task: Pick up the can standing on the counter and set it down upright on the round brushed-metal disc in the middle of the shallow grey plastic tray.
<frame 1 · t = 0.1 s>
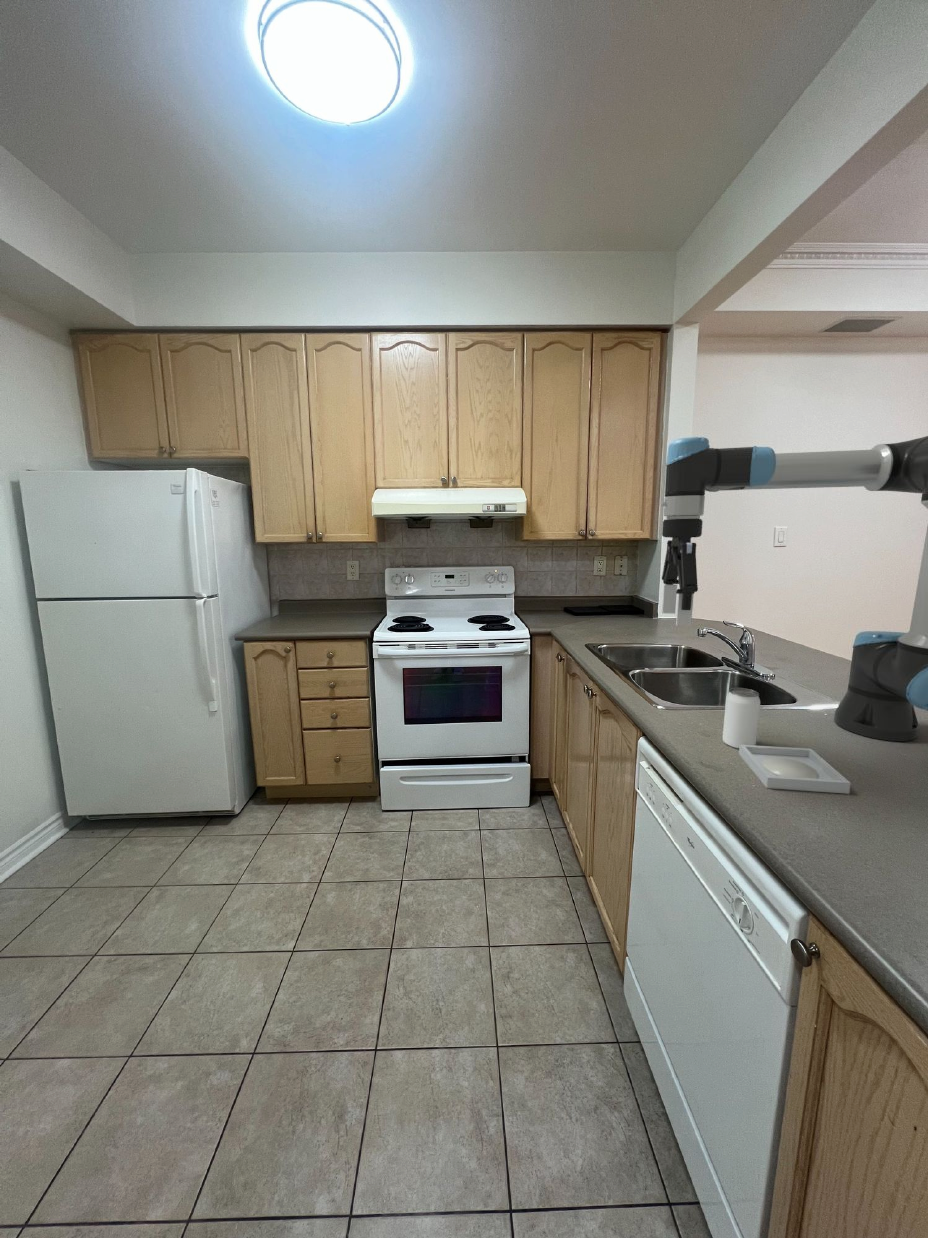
hand: (675, 619, 104), 28 cm above the countertop, tool pointing down, fingers open, 13 cm apart
flange tray: (789, 772, 95), on the countertop
can: (738, 744, 108), on the countertop
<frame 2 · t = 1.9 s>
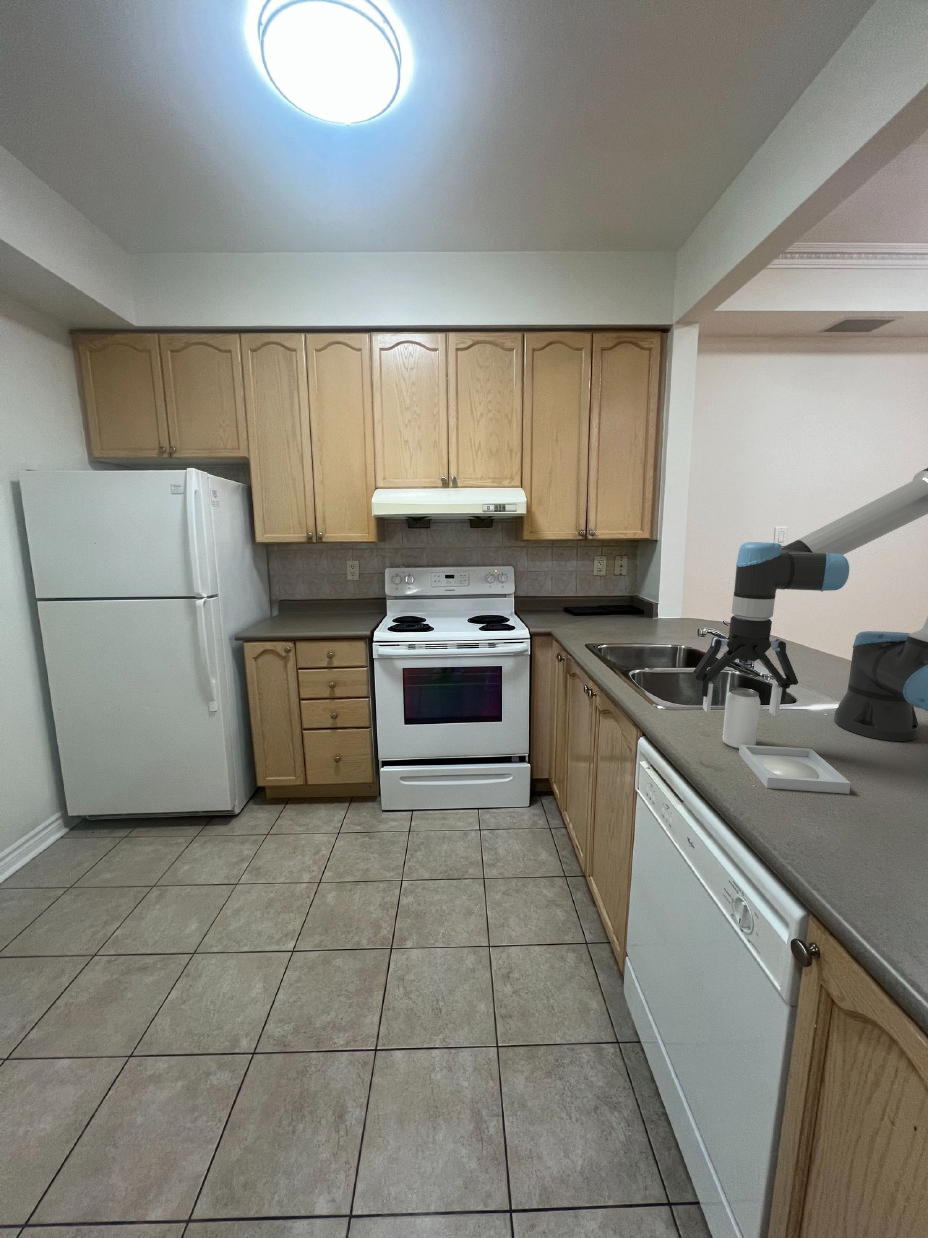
hand: (739, 712, 106), 7 cm above the countertop, tool pointing down, fingers open, 13 cm apart
nothing on the countertop moved.
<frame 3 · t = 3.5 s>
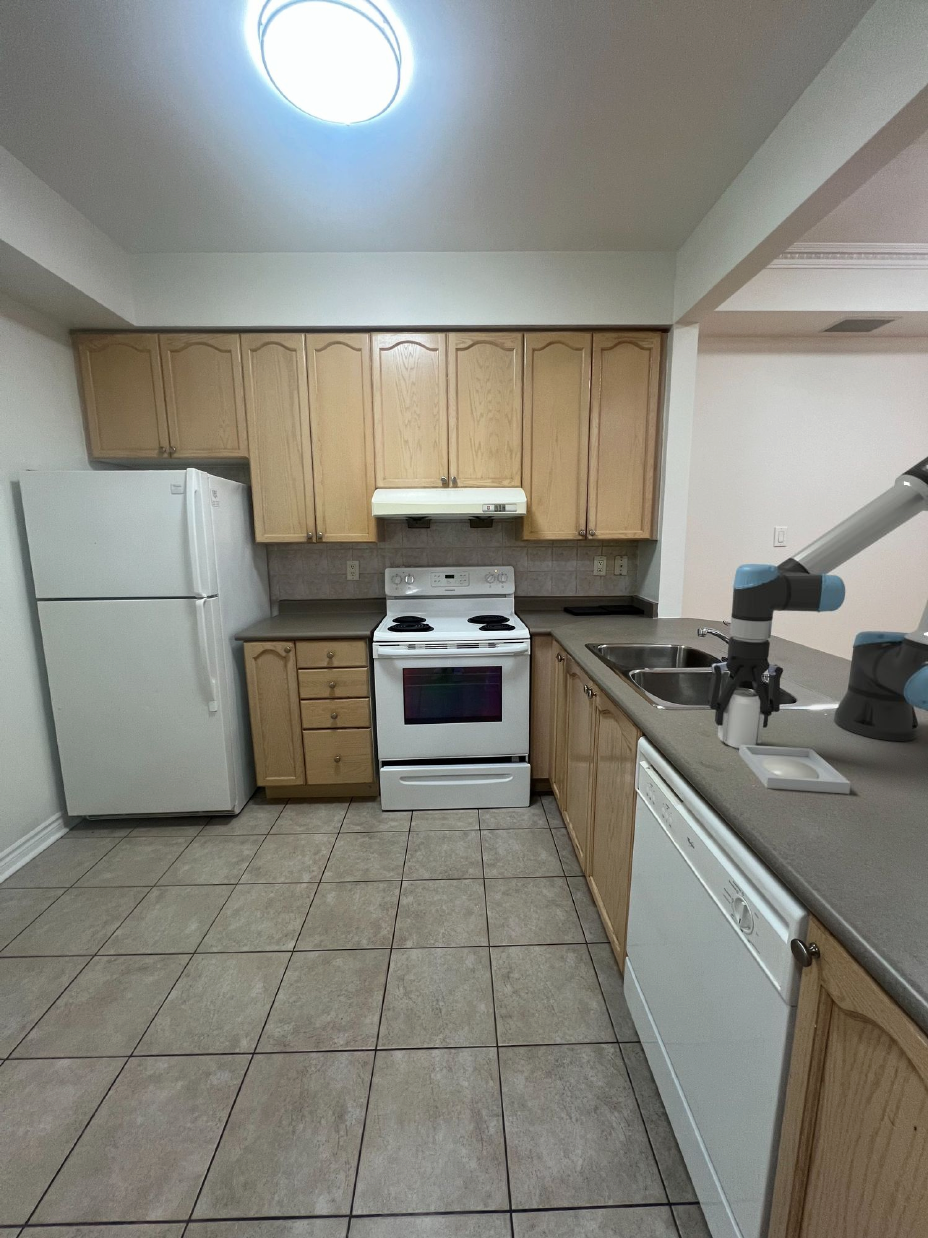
hand: (739, 739, 107), 1 cm above the countertop, tool pointing down, fingers closed on can, 6 cm apart
can: (738, 744, 108), on the countertop, touching gripper
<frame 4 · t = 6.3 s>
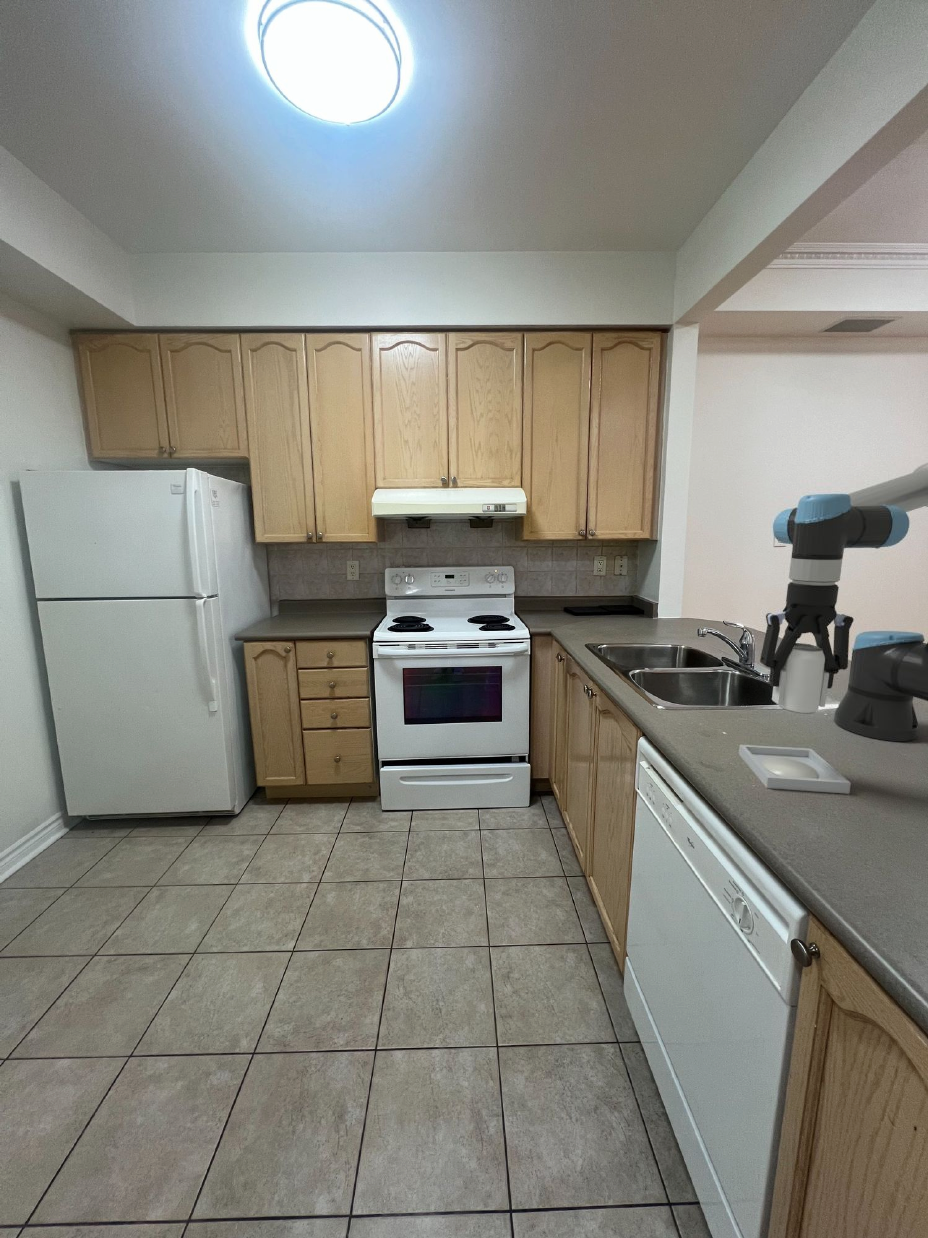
hand: (797, 703, 92), 14 cm above the countertop, tool pointing down, fingers closed on can, 6 cm apart
can: (797, 709, 93), point 13 cm above the countertop, touching gripper
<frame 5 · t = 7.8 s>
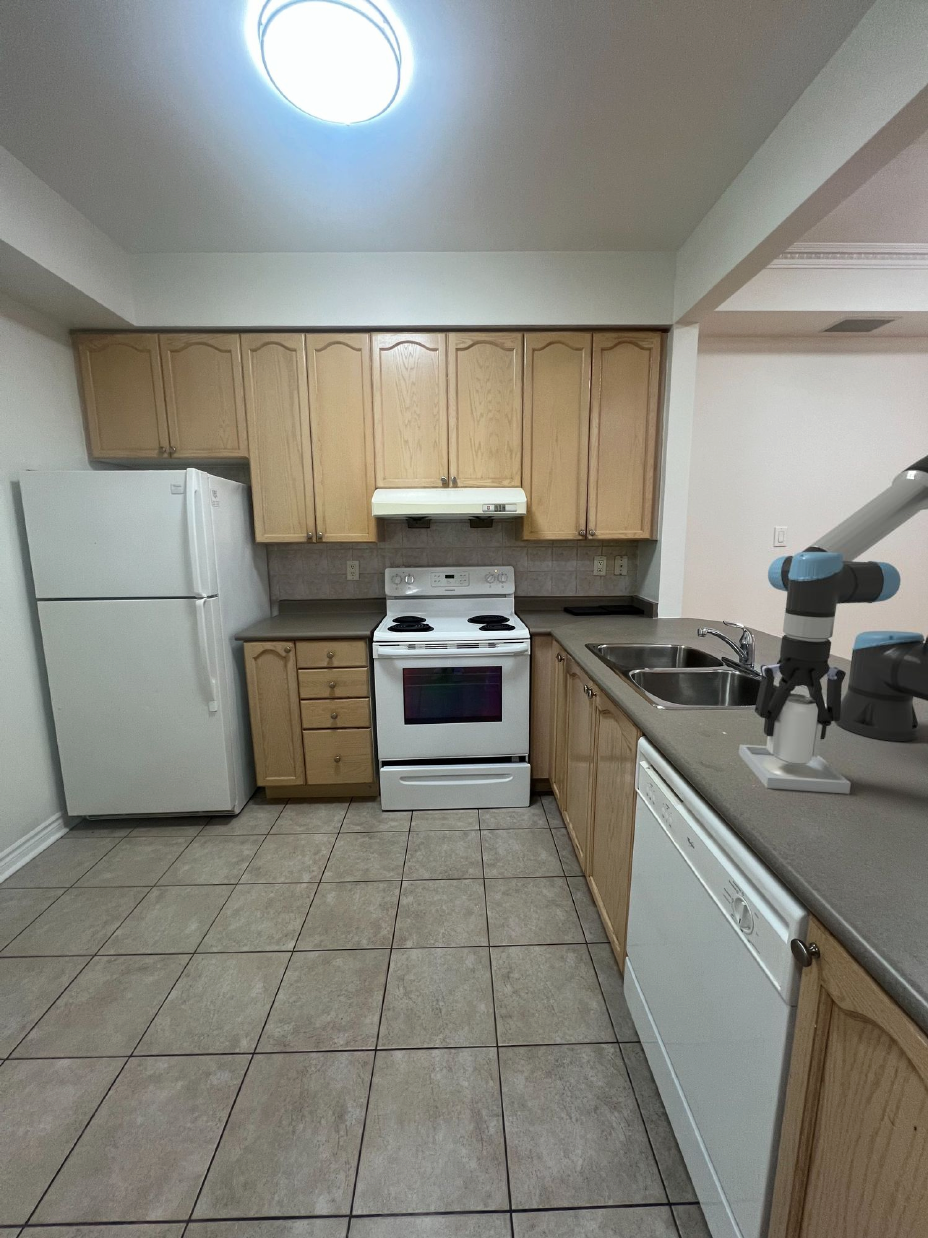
hand: (791, 752, 94), 4 cm above the countertop, tool pointing down, fingers closed on can, 6 cm apart
can: (790, 758, 94), point 3 cm above the countertop, touching gripper
when the fingers open (3 cm above the countertop, at t = 9.0 s): can stays where it is, resting on flange tray.
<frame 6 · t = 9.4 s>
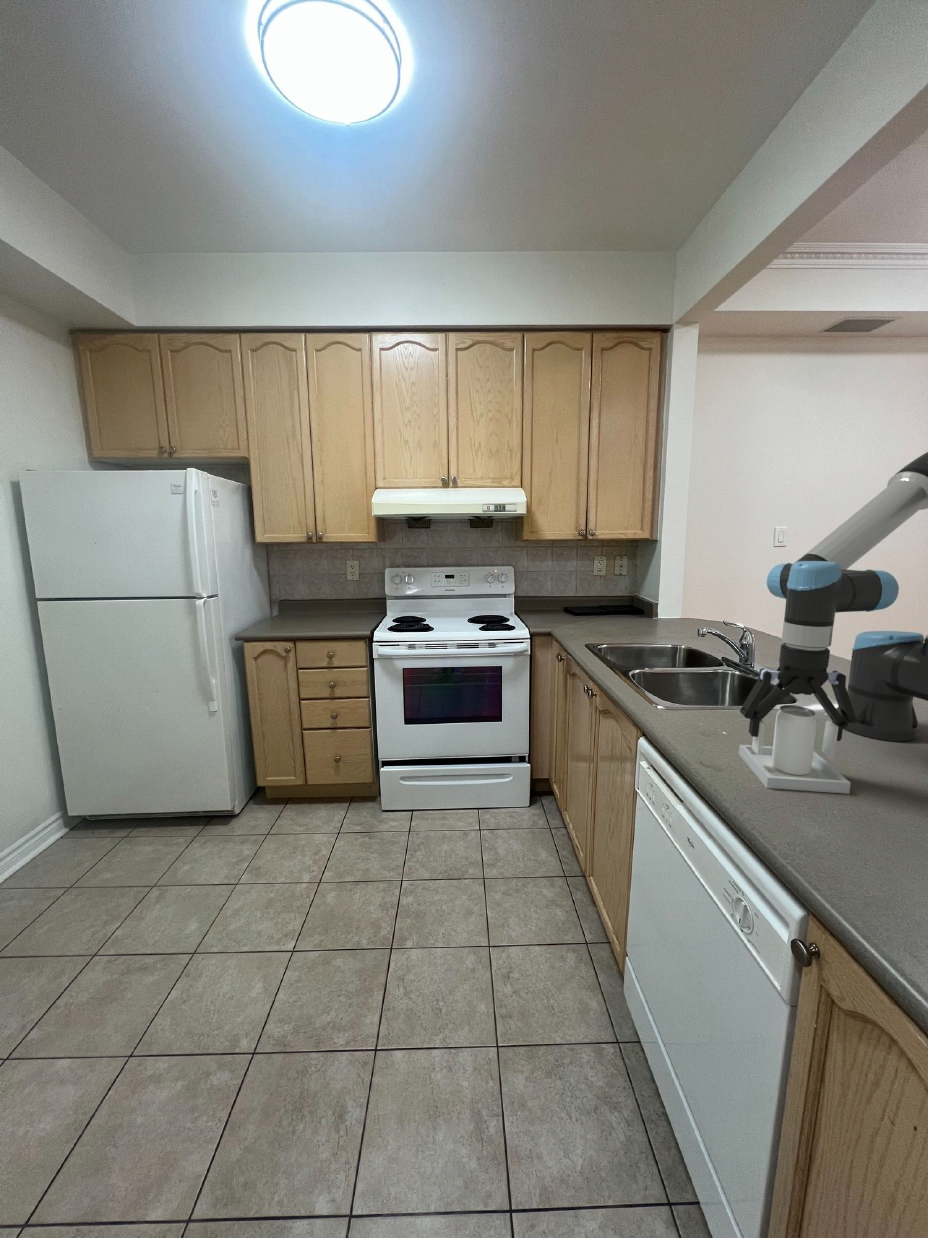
hand: (791, 753, 94), 4 cm above the countertop, tool pointing down, fingers open, 12 cm apart
can: (790, 769, 95), point 1 cm above the countertop, touching flange tray
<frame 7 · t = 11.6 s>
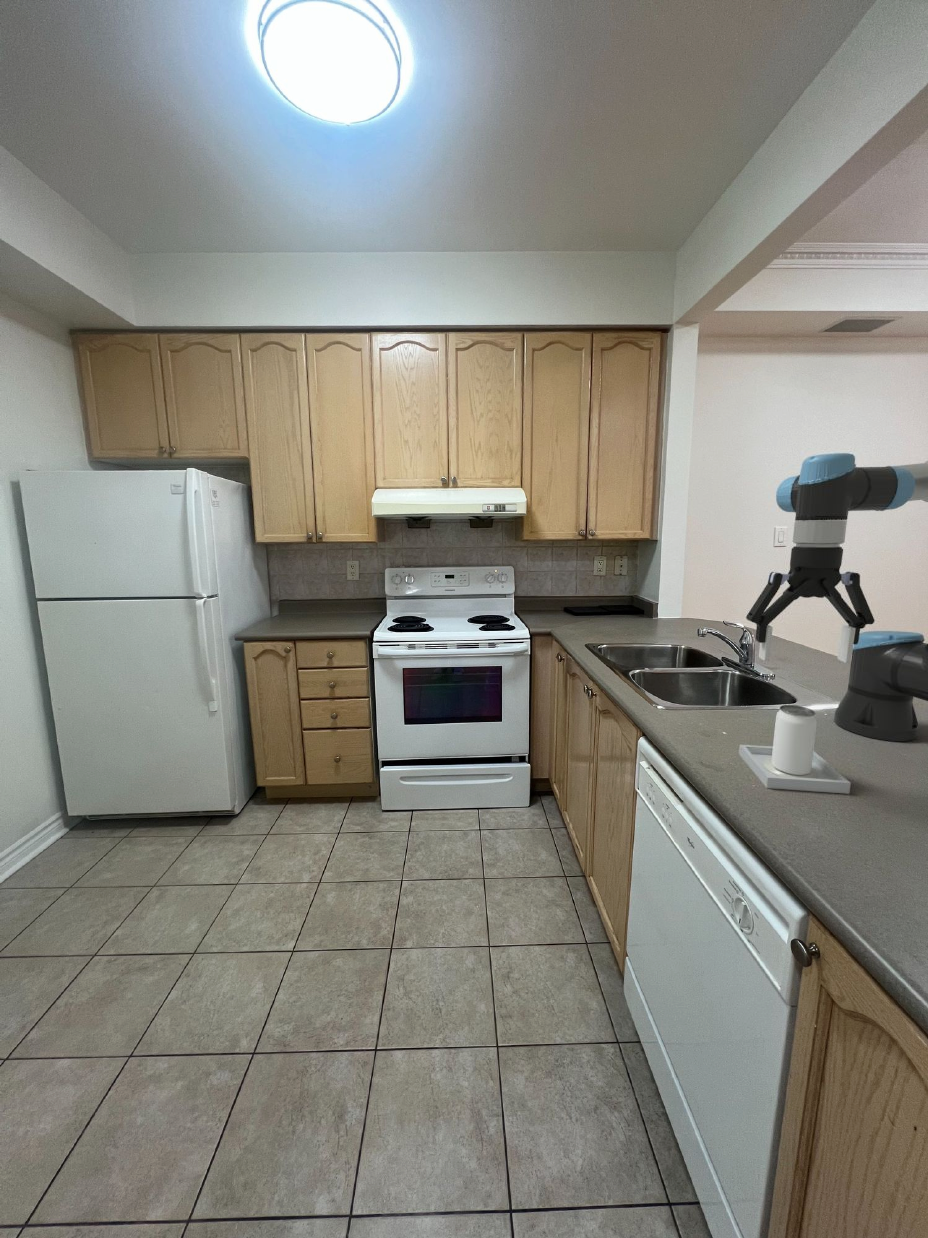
hand: (803, 660, 91), 23 cm above the countertop, tool pointing down, fingers open, 13 cm apart
nothing on the countertop moved.
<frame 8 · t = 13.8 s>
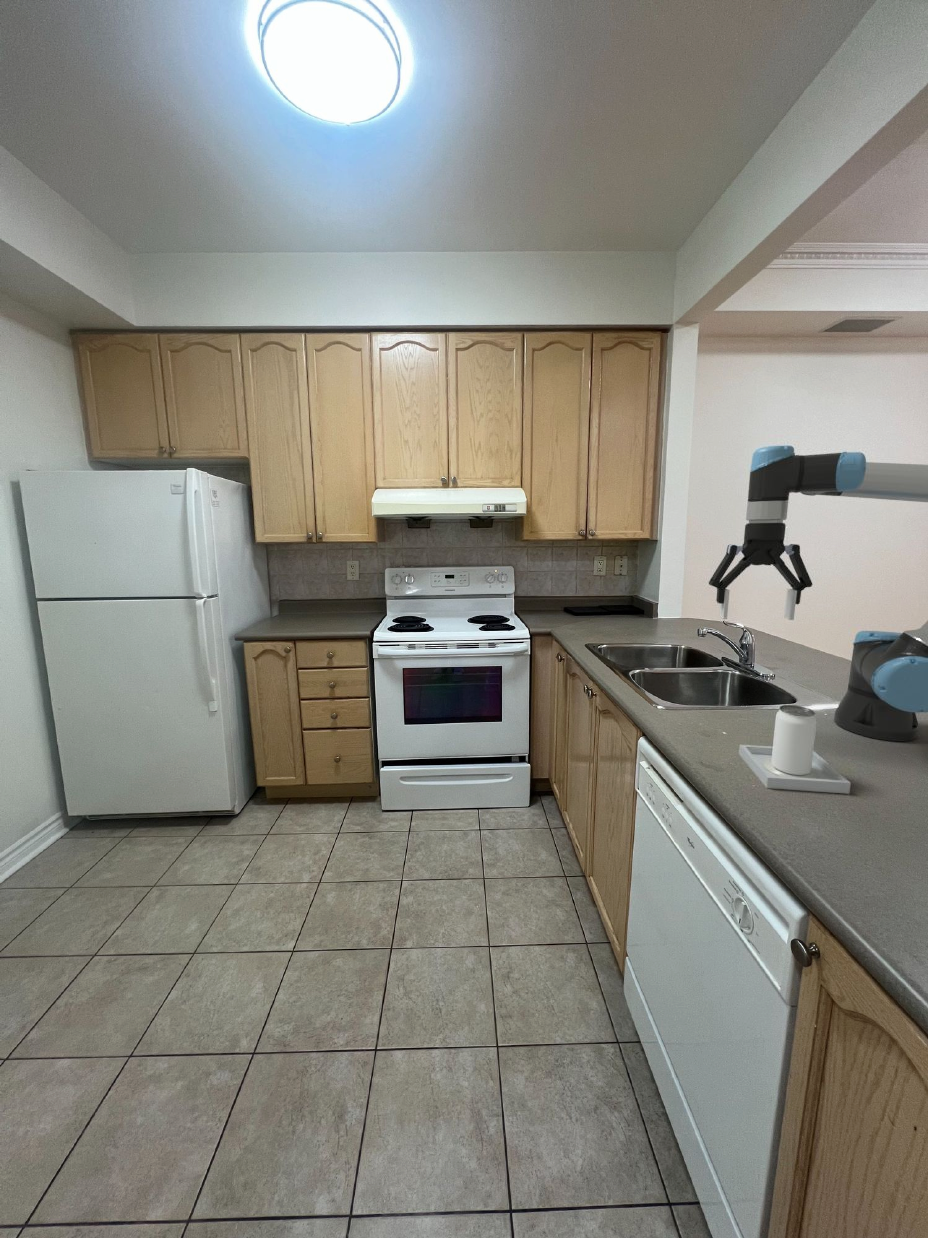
hand: (755, 618, 109), 27 cm above the countertop, tool pointing down, fingers open, 13 cm apart
nothing on the countertop moved.
at the end: can 0.1 cm from the flange tray (horizontally); can tilted 1° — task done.
